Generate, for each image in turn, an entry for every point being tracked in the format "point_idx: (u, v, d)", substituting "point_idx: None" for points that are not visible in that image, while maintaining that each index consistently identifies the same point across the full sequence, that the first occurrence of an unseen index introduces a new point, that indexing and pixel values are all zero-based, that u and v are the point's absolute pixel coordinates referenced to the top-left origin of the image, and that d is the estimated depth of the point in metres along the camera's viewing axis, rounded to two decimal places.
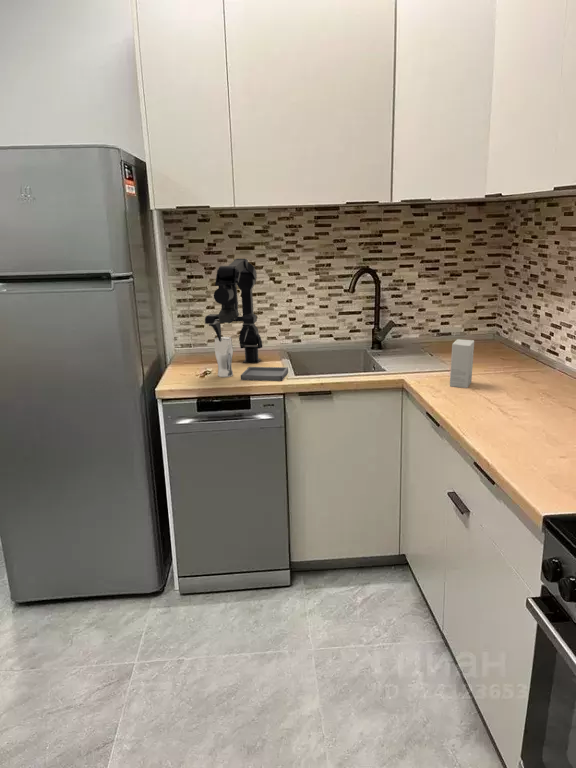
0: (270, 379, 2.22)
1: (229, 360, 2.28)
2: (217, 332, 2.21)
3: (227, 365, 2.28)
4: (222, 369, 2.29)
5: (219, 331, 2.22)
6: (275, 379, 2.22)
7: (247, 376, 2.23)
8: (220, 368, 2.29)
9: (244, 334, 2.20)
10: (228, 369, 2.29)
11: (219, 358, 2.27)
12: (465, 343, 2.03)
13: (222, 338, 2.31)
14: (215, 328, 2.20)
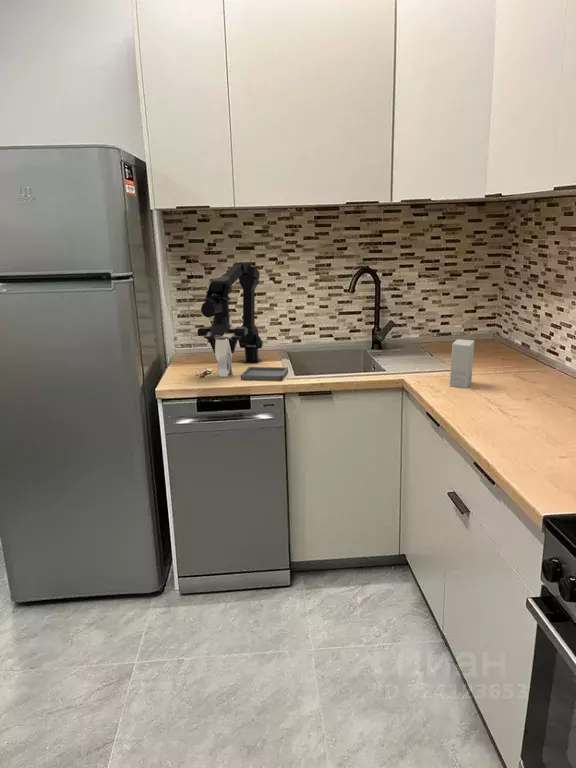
0: (270, 379, 2.22)
1: (229, 360, 2.28)
2: (212, 344, 2.28)
3: (227, 365, 2.28)
4: (222, 369, 2.29)
5: (214, 343, 2.29)
6: (275, 379, 2.22)
7: (247, 376, 2.23)
8: (220, 368, 2.29)
9: (233, 346, 2.27)
10: (228, 369, 2.29)
11: (219, 358, 2.27)
12: (465, 343, 2.03)
13: (222, 338, 2.31)
14: (210, 340, 2.27)
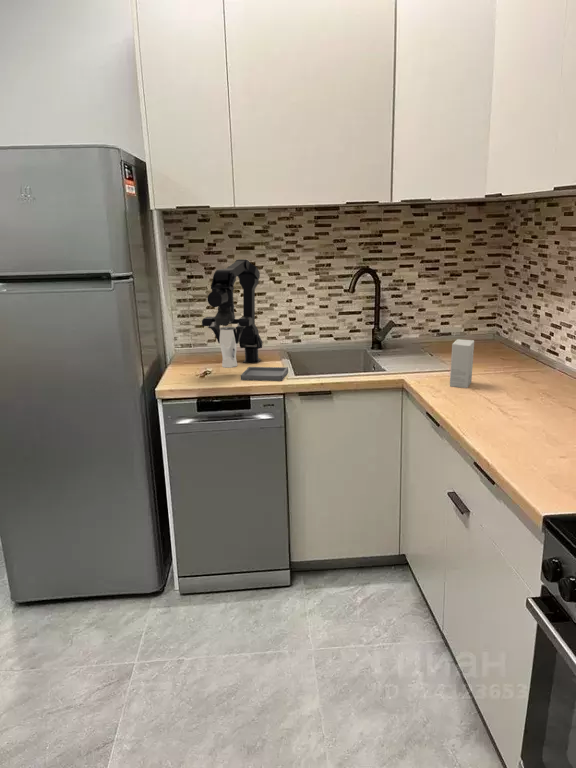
0: (270, 379, 2.22)
1: (233, 350, 2.27)
2: (216, 334, 2.27)
3: (231, 355, 2.27)
4: (226, 359, 2.27)
5: (218, 333, 2.28)
6: (275, 379, 2.22)
7: (247, 376, 2.23)
8: (224, 358, 2.28)
9: (237, 336, 2.25)
10: (232, 359, 2.28)
11: (223, 348, 2.26)
12: (465, 343, 2.03)
13: (227, 328, 2.29)
14: (214, 330, 2.26)
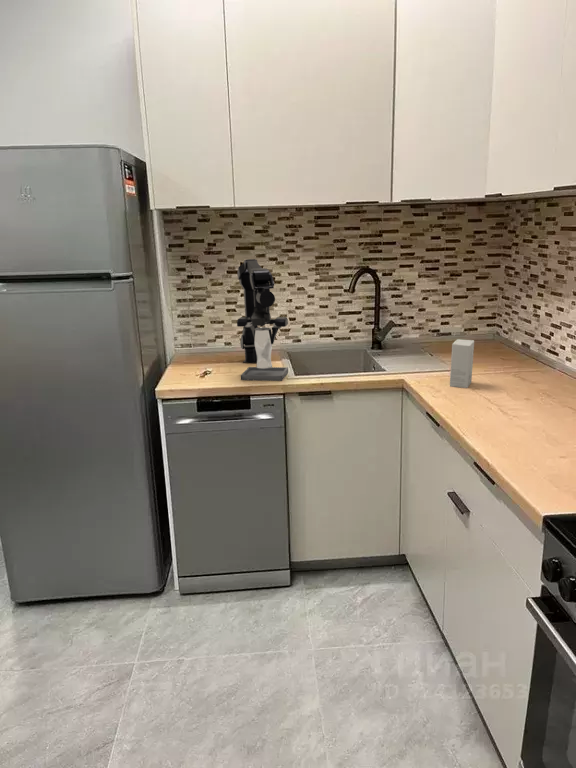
0: (270, 379, 2.22)
1: (269, 351, 2.24)
2: (251, 335, 2.24)
3: (267, 356, 2.24)
4: (261, 360, 2.25)
5: (253, 334, 2.25)
6: (275, 379, 2.22)
7: (247, 376, 2.23)
8: (259, 359, 2.25)
9: (273, 337, 2.23)
10: (267, 360, 2.25)
11: (258, 349, 2.24)
12: (465, 343, 2.03)
13: (261, 329, 2.27)
14: (249, 331, 2.23)
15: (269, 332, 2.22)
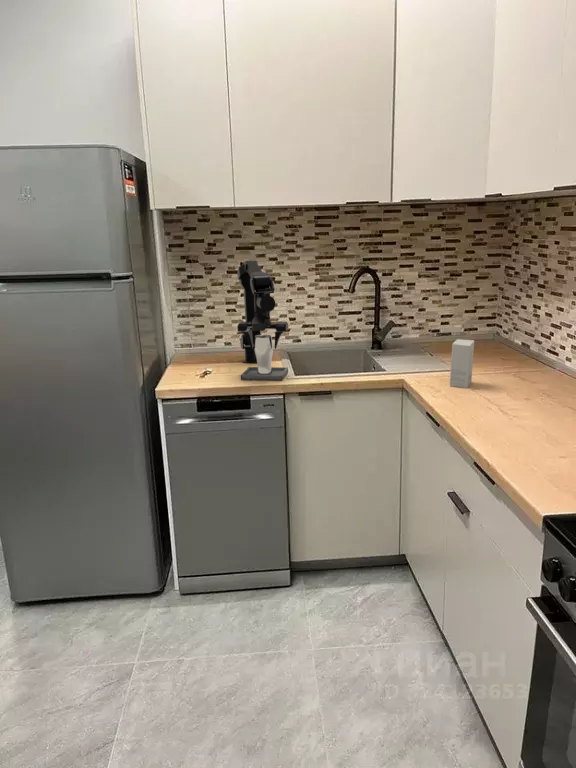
0: (270, 379, 2.22)
1: (269, 358, 2.25)
2: (249, 339, 2.25)
3: (267, 363, 2.25)
4: (262, 368, 2.25)
5: (251, 338, 2.26)
6: (275, 379, 2.22)
7: (247, 376, 2.23)
8: (260, 367, 2.26)
9: (276, 341, 2.23)
10: (268, 367, 2.26)
11: (259, 356, 2.24)
12: (465, 343, 2.03)
13: (261, 336, 2.28)
14: (247, 335, 2.24)
15: (269, 339, 2.23)
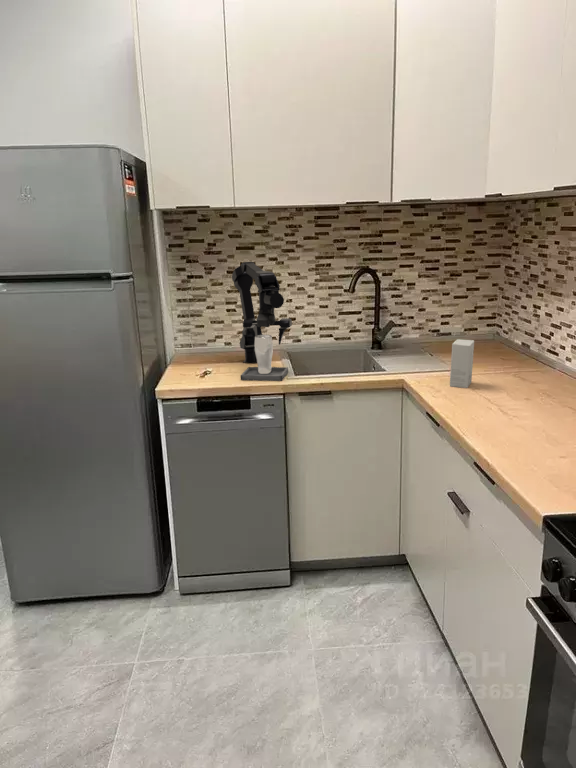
0: (270, 379, 2.22)
1: (269, 358, 2.25)
2: (254, 335, 2.32)
3: (267, 363, 2.25)
4: (262, 368, 2.26)
5: (256, 334, 2.33)
6: (275, 379, 2.22)
7: (247, 376, 2.23)
8: (260, 366, 2.26)
9: (280, 337, 2.31)
10: (268, 368, 2.26)
11: (259, 356, 2.24)
12: (465, 343, 2.03)
13: (262, 336, 2.28)
14: (252, 331, 2.32)
15: (269, 339, 2.23)
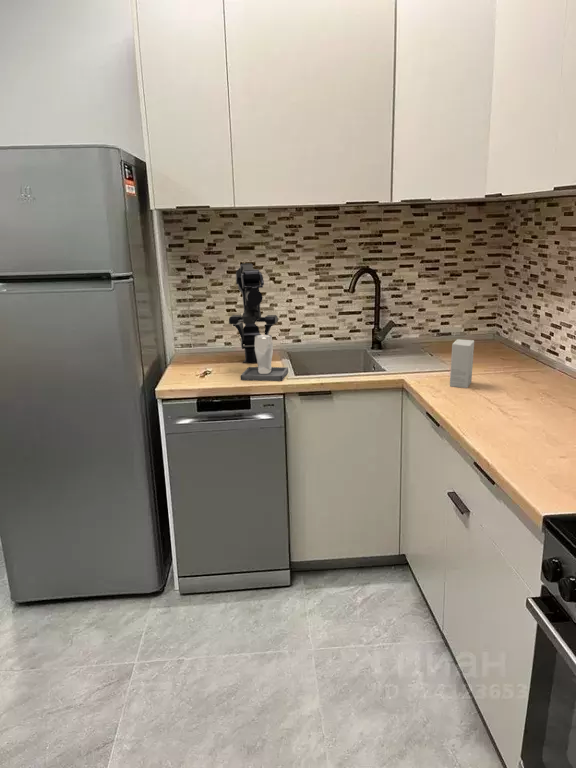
0: (270, 379, 2.22)
1: (269, 358, 2.25)
2: (240, 332, 2.35)
3: (267, 363, 2.25)
4: (262, 367, 2.26)
5: (242, 331, 2.36)
6: (275, 379, 2.22)
7: (247, 376, 2.23)
8: (260, 366, 2.26)
9: (266, 334, 2.33)
10: (268, 368, 2.26)
11: (259, 356, 2.24)
12: (465, 343, 2.03)
13: (262, 336, 2.28)
14: (238, 328, 2.34)
15: (269, 339, 2.23)
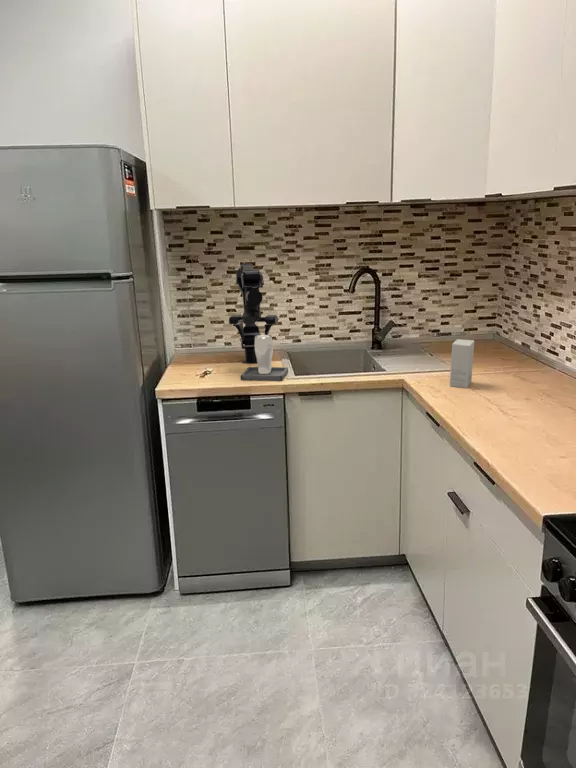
0: (270, 379, 2.22)
1: (269, 358, 2.25)
2: (240, 332, 2.35)
3: (267, 363, 2.25)
4: (262, 367, 2.26)
5: (242, 331, 2.36)
6: (275, 379, 2.22)
7: (247, 376, 2.23)
8: (260, 366, 2.26)
9: (266, 334, 2.33)
10: (268, 368, 2.26)
11: (259, 356, 2.24)
12: (465, 343, 2.03)
13: (262, 336, 2.28)
14: (238, 328, 2.34)
15: (269, 339, 2.23)
